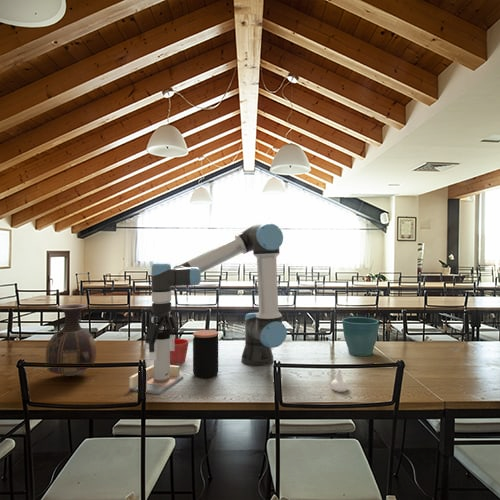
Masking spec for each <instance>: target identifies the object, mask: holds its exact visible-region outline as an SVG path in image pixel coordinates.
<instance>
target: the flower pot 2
mask: <svg viewBox="0 0 500 500" xmlns="http://www.w3.org/2000/svg"><path fill="white" fill-rule="evenodd" d="M341 322H342V330H343V331H342V332H343V336H344V337H343V338H344V341H345V344H346V347H347V351H348V353H349V354H350V355H352V356H358V357H365V356H366V357H369V356H372V355H373V353H374V348H375V346H376V343H377V339H378V332H379V331H378V330H379V329H378V328H379V322H380V321H379V320H378V319H375V318H371V317H370V318H369V317H361V316H360V317H357V316H355V317H352V316H351V317H345V318H343V319H341Z"/></svg>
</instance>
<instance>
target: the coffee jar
mask: <svg viewBox="0 0 500 500" xmlns="http://www.w3.org/2000/svg"><path fill="white" fill-rule="evenodd" d="M192 335H193V338H192V374H193V375H194V377H195V378H196V379H197V378H198V379H201V380H202V379H203V380H204V379H205V380H206V379H213V378H215V377H217V375H218V373H219V337H218V335H219V331H216V330H213V329H202V330H196V331H193V333H192Z"/></svg>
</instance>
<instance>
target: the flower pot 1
mask: <svg viewBox="0 0 500 500" xmlns="http://www.w3.org/2000/svg"><path fill="white" fill-rule="evenodd" d="M174 343H175V351H170V365H171V364H172V365H179V364H185V362H186V360H187V353H188V349H189V348H188V347H189V343H190V342H189V340H187V339H185V338H174Z"/></svg>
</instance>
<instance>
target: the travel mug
mask: <svg viewBox="0 0 500 500" xmlns="http://www.w3.org/2000/svg"><path fill="white" fill-rule="evenodd" d="M170 331H171V329H166V328H164V329H160V330H159V333H158V336H157V339H156V341H155V343H156V345H157V360H156V361H155V360H153V365H154V381H155V382H166V381H168V380H169V379H170V365H171V363H170Z"/></svg>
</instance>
